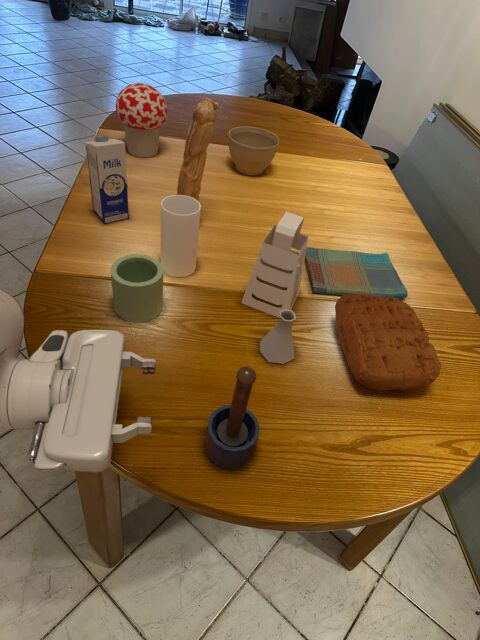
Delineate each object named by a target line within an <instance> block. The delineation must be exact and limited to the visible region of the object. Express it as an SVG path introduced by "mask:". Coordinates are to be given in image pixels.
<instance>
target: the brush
mask: <svg viewBox="0 0 480 640" xmlns="http://www.w3.org/2000/svg"><path fill="white" fill-rule="evenodd" d="M235 377H236V382H235V385H234V392H233V396H232V400H231V403H230V405H231V408H230V413H229V417H228V418H227V419H225V420H223V421H222V422H221V423H220V424H219V425H218V428H217V433H216V438H217V440H218V441H220V442H221V443H223V444H224V445H226V446H231V447H240V446H244V445H245V444H246V440H247V437H248V429H247V427H246V425H245V424H244V423H243V419H244V415H245V412H246V409H248V408H247V407H248V404H249V400H250V396H251V393H252V389H253V386H254V384H255V383H256V380H257V373H256V371H255V369H254V368H253V367H251V366H248V365H245V366H242V367H240V368H239V369H238V370H237V371H236V376H235Z"/></svg>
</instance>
